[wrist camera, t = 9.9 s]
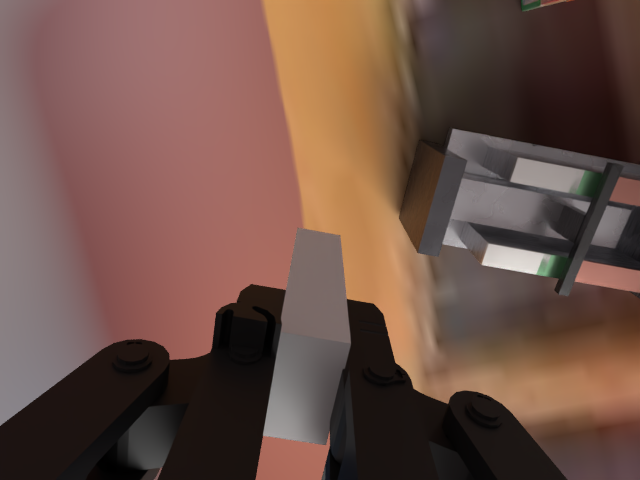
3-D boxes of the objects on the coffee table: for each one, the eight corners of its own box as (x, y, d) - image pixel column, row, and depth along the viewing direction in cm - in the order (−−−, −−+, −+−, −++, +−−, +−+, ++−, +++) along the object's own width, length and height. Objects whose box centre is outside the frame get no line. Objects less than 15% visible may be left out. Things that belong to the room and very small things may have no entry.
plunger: (423, 121, 33) (451, 132, 26) (616, 158, 34) (695, 180, 27) (394, 234, 36) (412, 272, 29) (571, 265, 37) (630, 310, 30)
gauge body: (449, 127, 33) (482, 140, 26) (657, 168, 34) (742, 190, 27) (418, 236, 36) (441, 273, 29) (610, 270, 37) (676, 314, 30)
